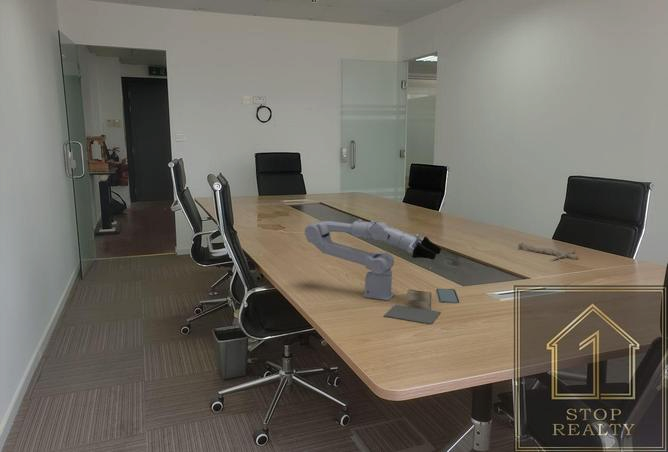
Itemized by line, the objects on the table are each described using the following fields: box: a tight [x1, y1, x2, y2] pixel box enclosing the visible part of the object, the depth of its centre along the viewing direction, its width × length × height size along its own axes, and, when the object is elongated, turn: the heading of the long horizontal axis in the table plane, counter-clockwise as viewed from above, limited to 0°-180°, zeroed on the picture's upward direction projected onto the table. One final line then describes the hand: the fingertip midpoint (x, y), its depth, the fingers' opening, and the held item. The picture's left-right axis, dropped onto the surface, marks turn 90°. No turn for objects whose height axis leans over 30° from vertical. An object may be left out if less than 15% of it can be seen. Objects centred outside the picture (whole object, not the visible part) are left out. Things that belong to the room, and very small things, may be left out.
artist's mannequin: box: [517, 242, 579, 262], centre depth 253 cm, size 28×4×30 cm
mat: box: [383, 304, 442, 325], centre depth 166 cm, size 16×12×1 cm
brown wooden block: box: [406, 288, 432, 310], centre depth 172 cm, size 8×2×6 cm, turn 64°
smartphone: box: [435, 288, 461, 304], centre depth 186 cm, size 7×1×15 cm
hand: (437, 254), depth 174 cm, fingers open, 7 cm apart
